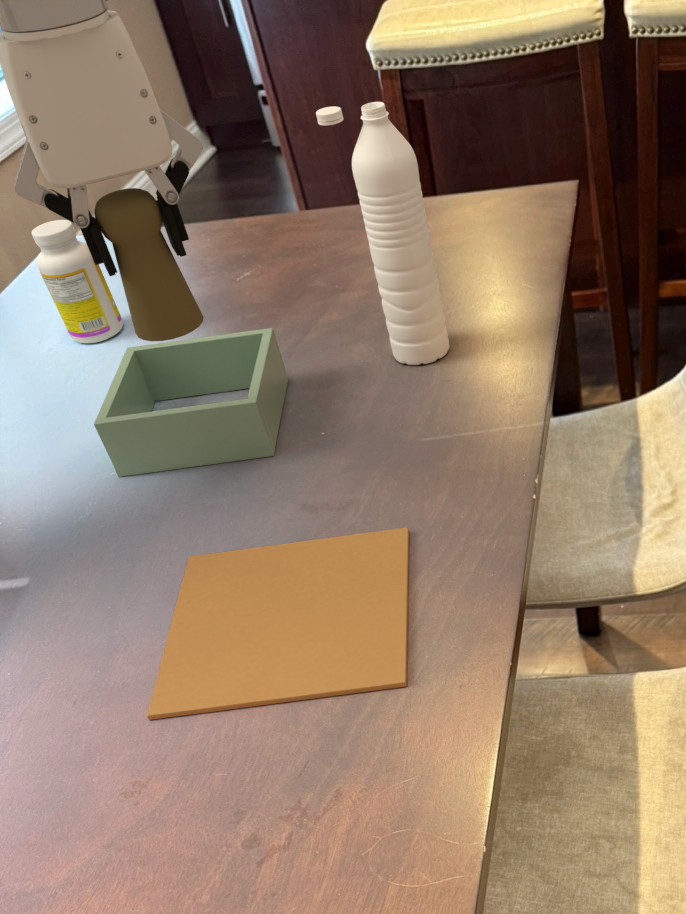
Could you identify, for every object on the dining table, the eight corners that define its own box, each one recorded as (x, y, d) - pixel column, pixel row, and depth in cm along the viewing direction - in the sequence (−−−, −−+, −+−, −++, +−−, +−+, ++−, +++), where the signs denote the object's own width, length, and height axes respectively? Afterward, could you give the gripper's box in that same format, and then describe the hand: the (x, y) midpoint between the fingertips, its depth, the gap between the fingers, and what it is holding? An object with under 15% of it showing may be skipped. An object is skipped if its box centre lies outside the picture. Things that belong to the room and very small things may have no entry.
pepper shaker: (133, 319, 91) (81, 190, 83) (199, 303, 92) (154, 174, 84) (137, 347, 87) (83, 214, 79) (207, 330, 88) (160, 197, 80)
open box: (118, 477, 102) (93, 424, 98) (148, 398, 113) (126, 347, 109) (273, 456, 102) (255, 402, 97) (288, 378, 113) (272, 327, 108)
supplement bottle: (96, 318, 129) (51, 213, 120) (135, 323, 127) (92, 217, 118) (60, 342, 125) (10, 236, 116) (99, 348, 123) (52, 241, 114)
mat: (148, 720, 77) (146, 715, 77) (190, 560, 91) (188, 556, 90) (406, 686, 77) (405, 682, 76) (409, 531, 90) (408, 526, 90)
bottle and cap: (449, 335, 116) (406, 89, 98) (450, 361, 111) (405, 109, 93) (374, 345, 116) (317, 101, 98) (373, 372, 112) (313, 122, 93)
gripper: (156, -29, 76) (232, 221, 89) (-78, 19, 72) (38, 273, 85) (176, -13, 71) (254, 248, 85) (-73, 39, 67) (49, 305, 81)
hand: (144, 258), depth 85 cm, fingers closed on pepper shaker, 5 cm apart
